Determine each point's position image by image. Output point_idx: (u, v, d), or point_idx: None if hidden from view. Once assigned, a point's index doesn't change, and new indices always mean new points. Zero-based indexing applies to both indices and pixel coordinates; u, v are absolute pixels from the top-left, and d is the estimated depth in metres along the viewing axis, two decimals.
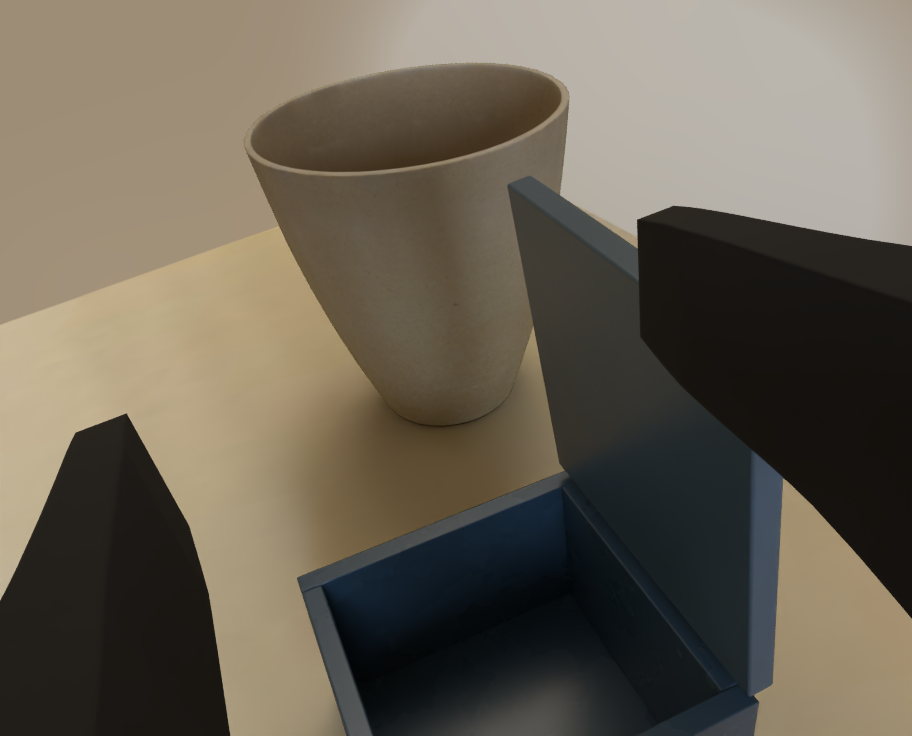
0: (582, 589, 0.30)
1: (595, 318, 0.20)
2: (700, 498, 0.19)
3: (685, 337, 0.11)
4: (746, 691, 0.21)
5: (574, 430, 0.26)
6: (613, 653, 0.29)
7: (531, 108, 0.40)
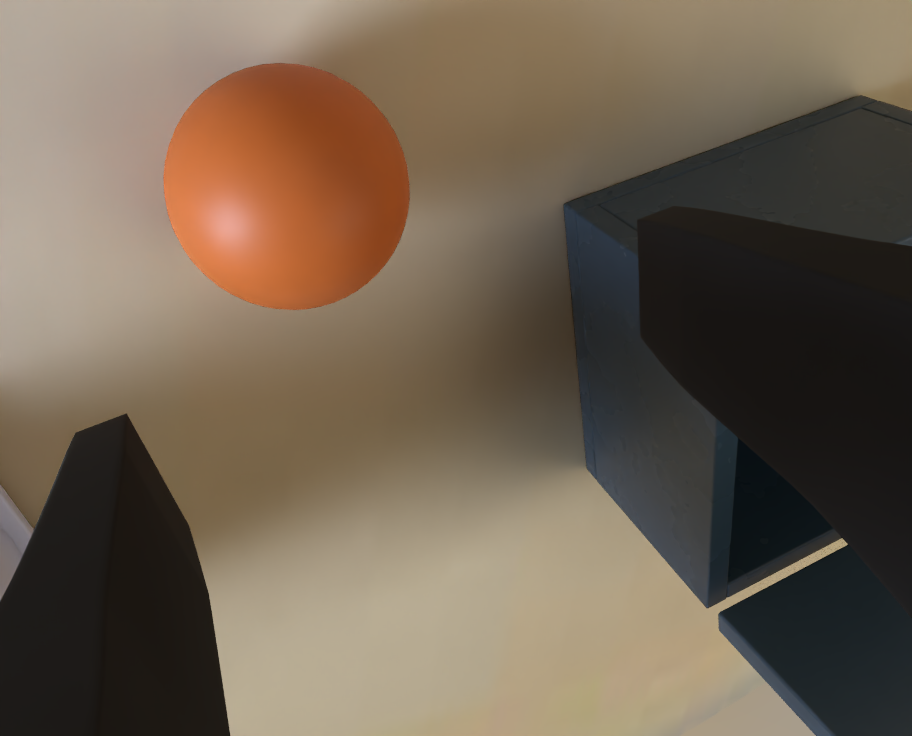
0: None
1: None
2: None
3: (685, 337, 0.11)
4: (725, 617, 0.22)
5: None
6: None
7: None
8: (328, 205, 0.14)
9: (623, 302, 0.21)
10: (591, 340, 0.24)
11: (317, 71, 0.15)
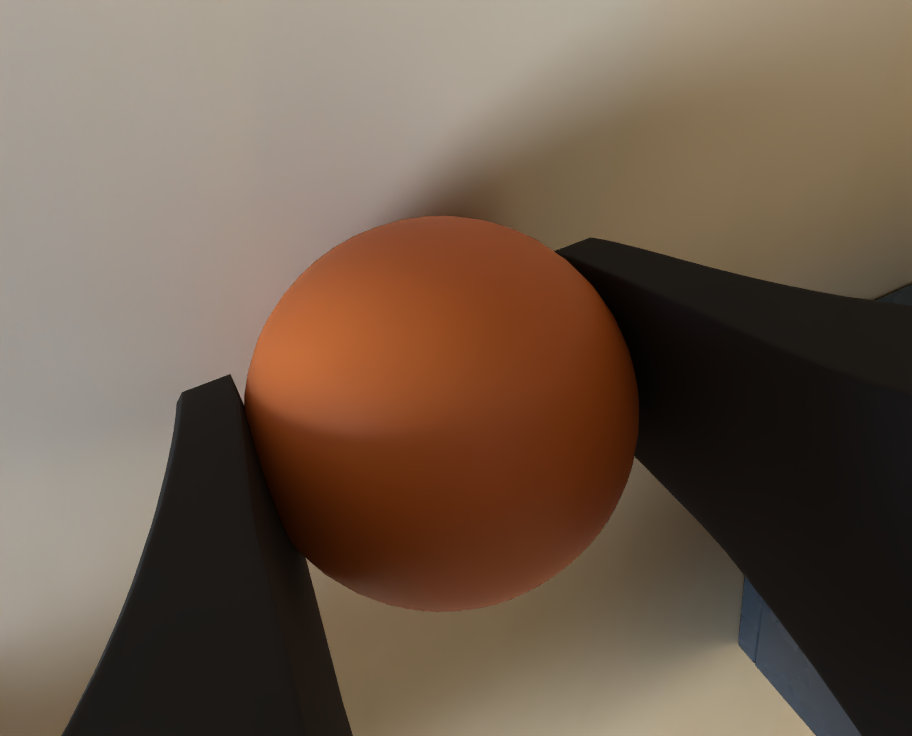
0: None
1: None
2: None
3: None
4: None
5: None
6: None
7: None
8: (549, 493, 0.08)
9: None
10: None
11: (507, 237, 0.09)
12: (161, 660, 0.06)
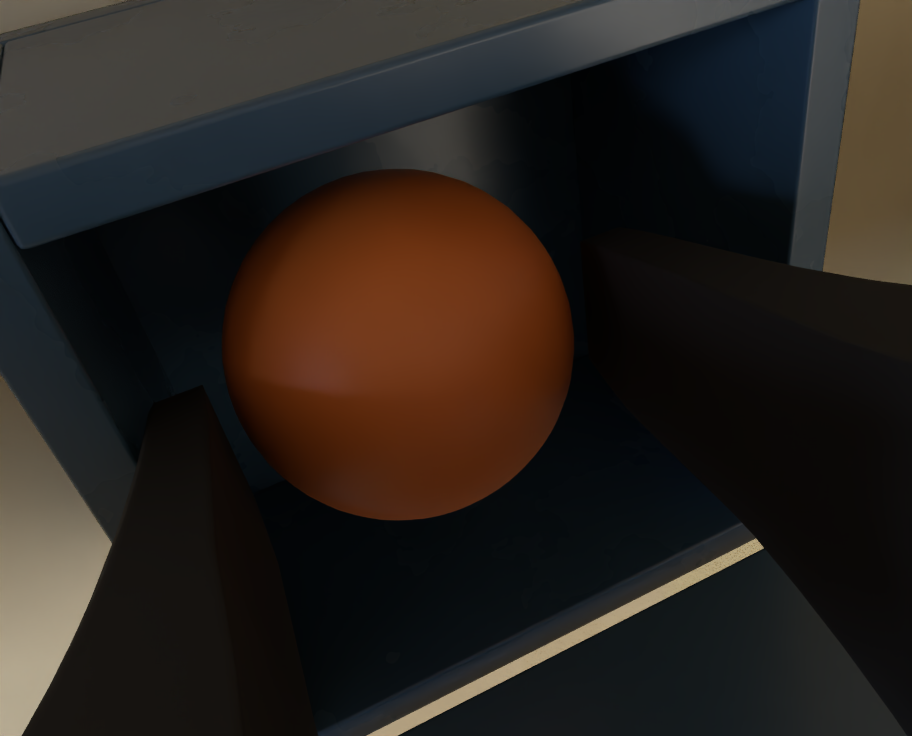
0: (582, 405, 0.18)
1: None
2: None
3: (629, 361, 0.11)
4: None
5: (861, 705, 0.12)
6: None
7: None
8: (484, 402, 0.09)
9: None
10: None
11: (453, 185, 0.10)
12: (111, 683, 0.05)
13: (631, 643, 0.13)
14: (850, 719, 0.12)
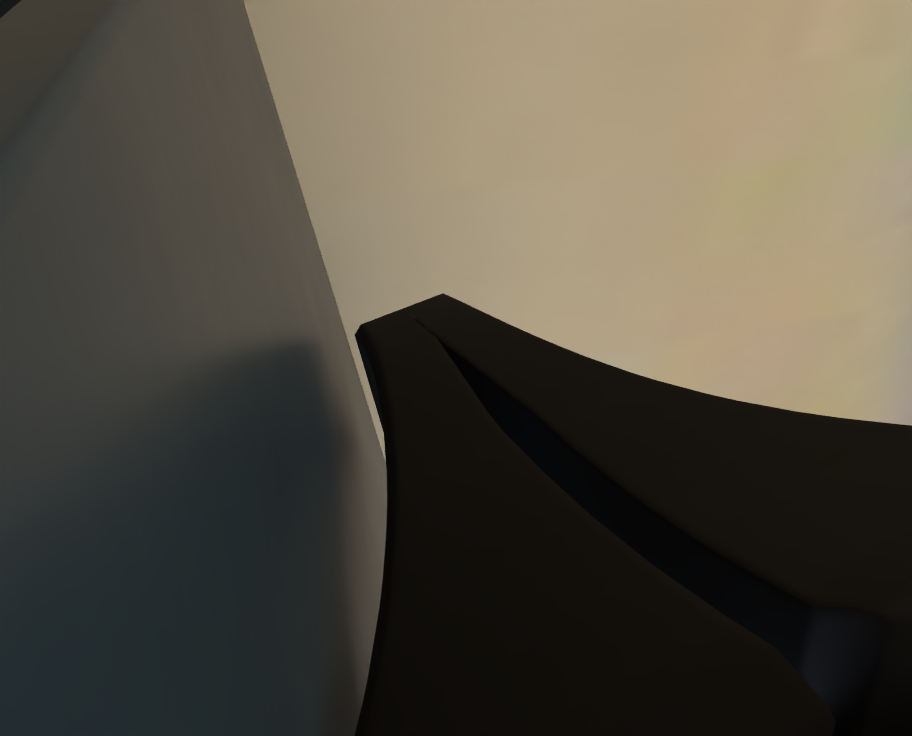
0: None
1: None
2: None
3: None
4: None
5: None
6: None
7: None
8: None
9: None
10: None
11: None
12: (459, 525, 0.06)
13: None
14: None
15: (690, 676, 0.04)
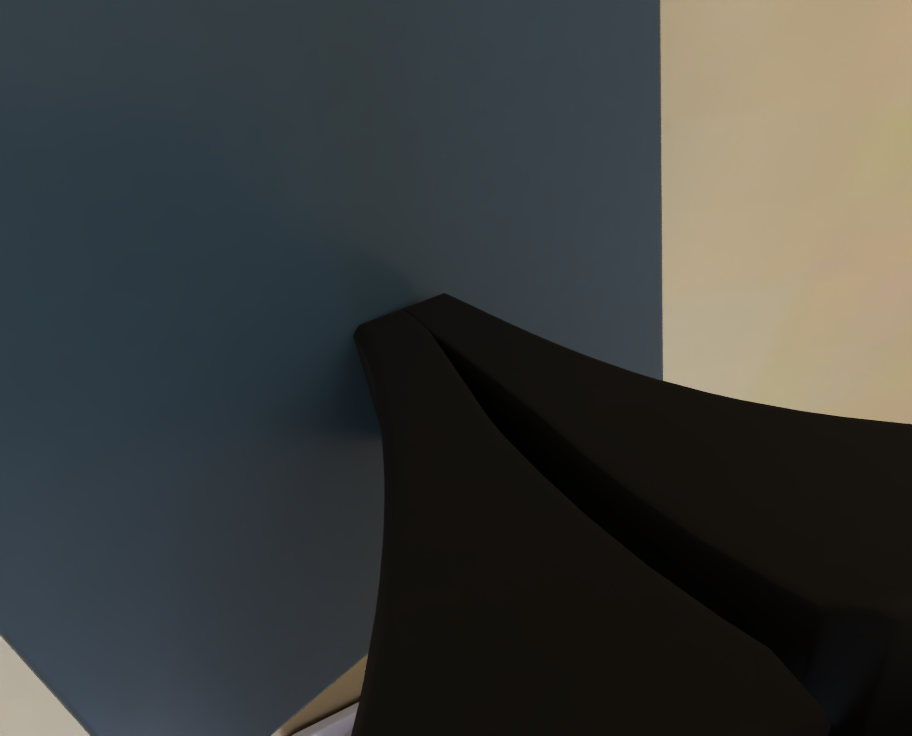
0: None
1: None
2: None
3: None
4: None
5: None
6: None
7: None
8: None
9: None
10: None
11: None
12: (456, 526, 0.06)
13: None
14: None
15: (685, 678, 0.04)
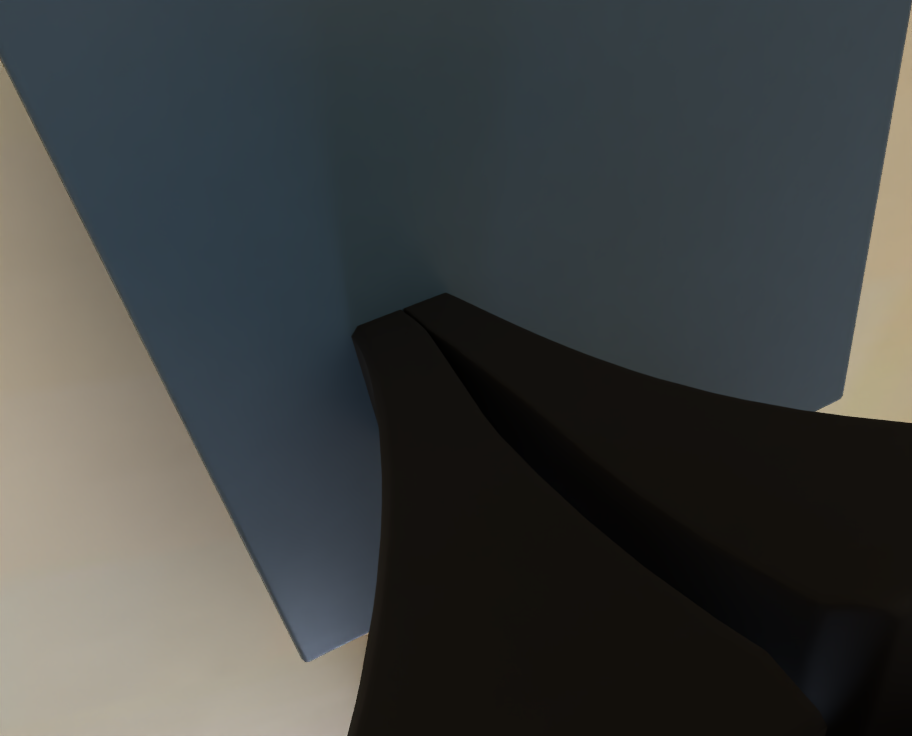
0: None
1: None
2: None
3: None
4: None
5: None
6: None
7: None
8: None
9: None
10: None
11: None
12: (453, 527, 0.06)
13: None
14: None
15: (681, 681, 0.04)
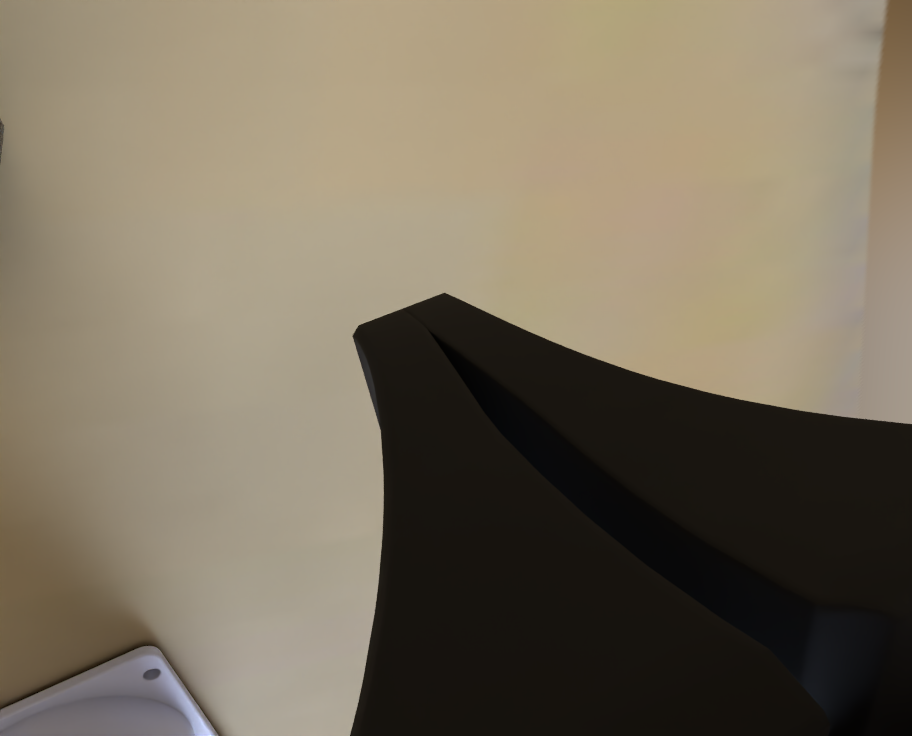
0: None
1: None
2: None
3: None
4: None
5: None
6: None
7: None
8: None
9: None
10: None
11: None
12: (456, 526, 0.06)
13: None
14: None
15: (684, 679, 0.04)
